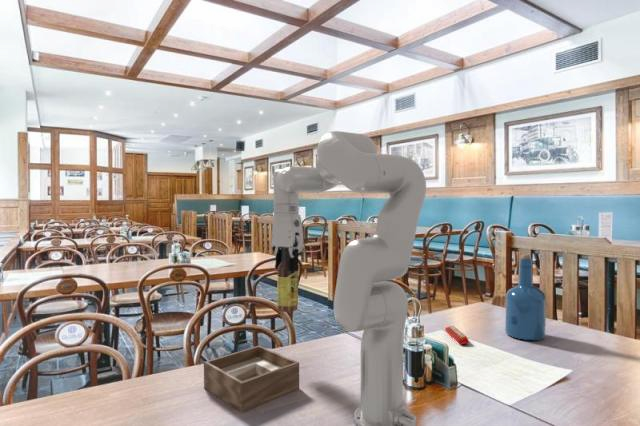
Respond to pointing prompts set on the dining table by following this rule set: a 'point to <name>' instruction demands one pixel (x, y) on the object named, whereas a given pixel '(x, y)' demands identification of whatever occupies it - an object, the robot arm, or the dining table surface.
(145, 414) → the dining table surface
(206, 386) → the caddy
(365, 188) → the robot arm
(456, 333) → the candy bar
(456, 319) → the dining table surface
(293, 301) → the sauce bottle
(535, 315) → the wine bottle
